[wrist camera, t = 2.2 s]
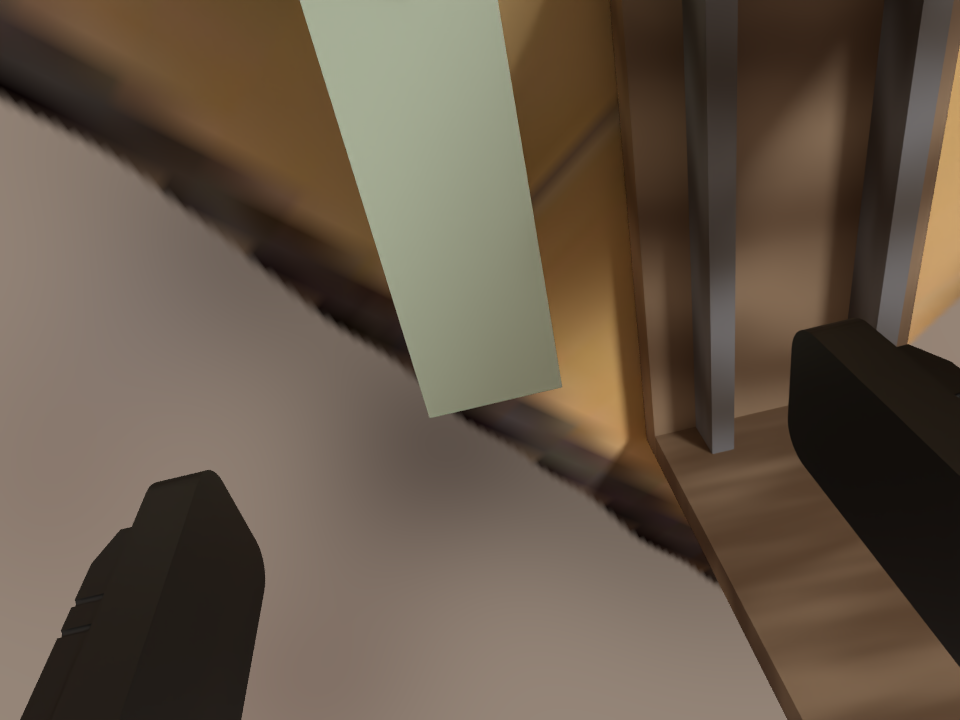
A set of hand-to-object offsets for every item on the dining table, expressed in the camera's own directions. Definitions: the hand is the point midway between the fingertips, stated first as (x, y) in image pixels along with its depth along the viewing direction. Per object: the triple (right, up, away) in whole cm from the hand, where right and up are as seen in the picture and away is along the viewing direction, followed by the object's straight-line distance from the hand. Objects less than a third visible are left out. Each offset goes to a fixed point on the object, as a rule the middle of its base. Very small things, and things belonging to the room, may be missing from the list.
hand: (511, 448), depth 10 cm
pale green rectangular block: (-2, +10, +16) cm, 19 cm away
